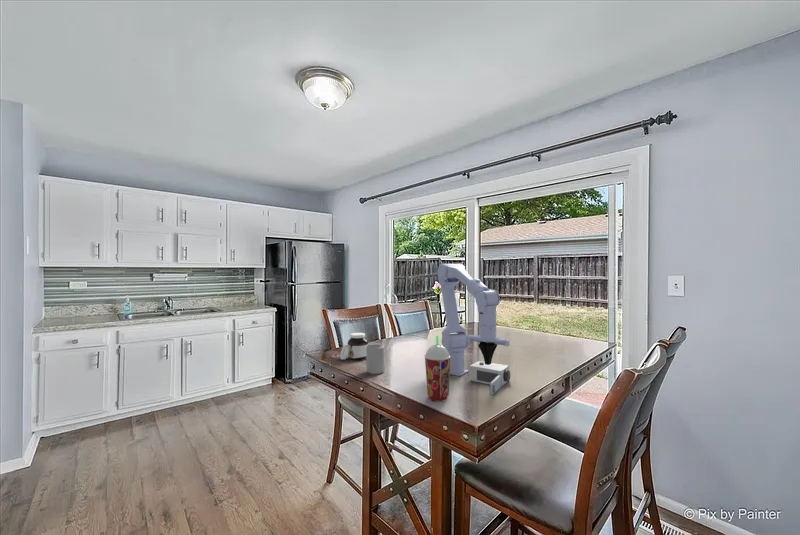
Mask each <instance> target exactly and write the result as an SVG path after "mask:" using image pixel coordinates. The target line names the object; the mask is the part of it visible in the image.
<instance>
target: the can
mask: <svg viewBox="0 0 800 535" xmlns="http://www.w3.org/2000/svg"><path fill="white" fill-rule="evenodd" d="M385 350H386V349H385V346H384V343H383V342H382V341H370V342H368V346H367V347H366V359H365V360H366V366H365V367H366V372H368V374H369V373H371V374H370V375H381V374H383V373H384V372H385V369H386V363H385V359H386V356H385V354H386V352H385Z"/></svg>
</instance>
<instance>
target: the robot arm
mask: <svg viewBox="0 0 800 535" xmlns="http://www.w3.org/2000/svg"><path fill="white" fill-rule="evenodd" d="M436 272H437V279H438V284H439V286H440V289H441V296H442V300H443V301H442V302H443V309H444V314H445V320H446V322H445V323H446V327H445V328H444V329H443V330H442V332H441V345H442V346H444V347H445V348H446V349H447V351H448V353H449V355H450V356H451V358H450V375H452V376H457V377H461V376H464V375H465V374H466V373H468V372H470V369H467V368H465V367H466V366H465V365H466V364H465V363H466V362H465V359H466V358H465V357H466V356H465V355H466V354H465V351H467V348H468V346H469V344H470V342H475V343H476V342H477V343H479V344H478V345H477V346H478V348H479V350H480V352H481V354H482V357H483V362H485V364H486V365H490V364H491V363H492V361H493V360H492V359H493V357H494V353H495V351H496V349H497V347H498V345H499V346H505V347H509V346H510V339H506V338H503V337H497V306H499V304H500V299H501V298H500V294H499V292H498V291H497V290H496V289H489V288H488V286H487V285H485V284H484V283H483V282H482V280H481V279H480V278H473V277H472V276H471V275H470V274H469V273H468V271H467V270H466V266H465V265H463V264H462V263H460V262H459V263H440V264H439V266H438V269H437V271H436ZM460 282H461V283H462V284H464V285H465V286H466V291H467V292H468V294H470V295H471V296H472V297H473V298H474V299H475V304H476V306H477V312H478V314H479V315H478V317H479V318H478V319H479V320H478V322H479V323H478V324H479V326H478V327H479V328H478V329H479V332H478V333H479V335H477V334H476V335H475V334H474V335H473V334H469V335H468V334H467V330H466V328H464V326H461V324H460V318H459V312H458V307H457V299H456V292H455V286H456V285H458V284H459V283H460Z"/></svg>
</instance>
